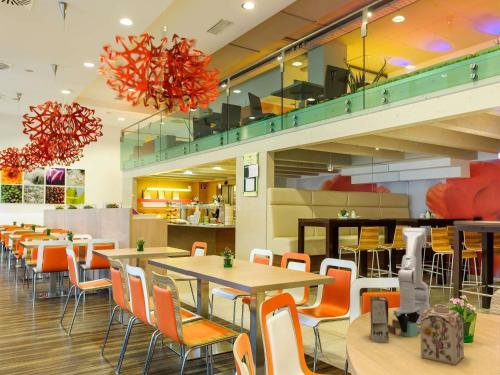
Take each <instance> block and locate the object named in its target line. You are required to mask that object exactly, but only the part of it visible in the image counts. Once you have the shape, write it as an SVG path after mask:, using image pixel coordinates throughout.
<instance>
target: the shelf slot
mask: <svg viewBox="0 0 500 375" xmlns="http://www.w3.org/2000/svg"><path fill="white" fill-rule="evenodd" d="M391 320H392V321H391V324H392V325H391V324H388V331H389V334H391V335H396V334H397V332H396V331H397V329H398V330H401V327H400V324H399V321H398V319H395V318H394V319H393V318H392V319H391Z"/></svg>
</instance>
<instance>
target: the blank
mask: <svg viewBox="0 0 500 375" xmlns="http://www.w3.org/2000/svg"><path fill="white" fill-rule="evenodd" d="M417 327H418V324H416V323H413V322H409V321H408V324H407V333H404V332H402V331H401V330H400V335H403V336H405V337H409V338H413V337H414V338H415V337H418V334H417Z"/></svg>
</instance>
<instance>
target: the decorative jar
mask: <svg viewBox="0 0 500 375" xmlns="http://www.w3.org/2000/svg"><path fill="white" fill-rule="evenodd" d="M430 308H431V309H427V310H425V311H424V313H423V315H422V317H421V324H420V328H421V333H420V357H421V359H426V360H431V361H435V362H439V363H444V364H449V365H453V366H456V365H457V364H458V363H459V362H460V361H461V360H462V359H463V357H465V354H464V352H465V351H464V350H465V348H464V345H465V344H464V343H465V342H464V321H463V320H464V318H462V315H461V314H460V313H459V312H458V311H456V310H453V309H450V308H449V306H448V305H446V304H445V305H444V304H434V307H430Z"/></svg>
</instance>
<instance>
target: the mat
mask: <svg viewBox="0 0 500 375" xmlns="http://www.w3.org/2000/svg"><path fill="white" fill-rule="evenodd" d="M419 334H421V327H419V326H417V335H419Z"/></svg>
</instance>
